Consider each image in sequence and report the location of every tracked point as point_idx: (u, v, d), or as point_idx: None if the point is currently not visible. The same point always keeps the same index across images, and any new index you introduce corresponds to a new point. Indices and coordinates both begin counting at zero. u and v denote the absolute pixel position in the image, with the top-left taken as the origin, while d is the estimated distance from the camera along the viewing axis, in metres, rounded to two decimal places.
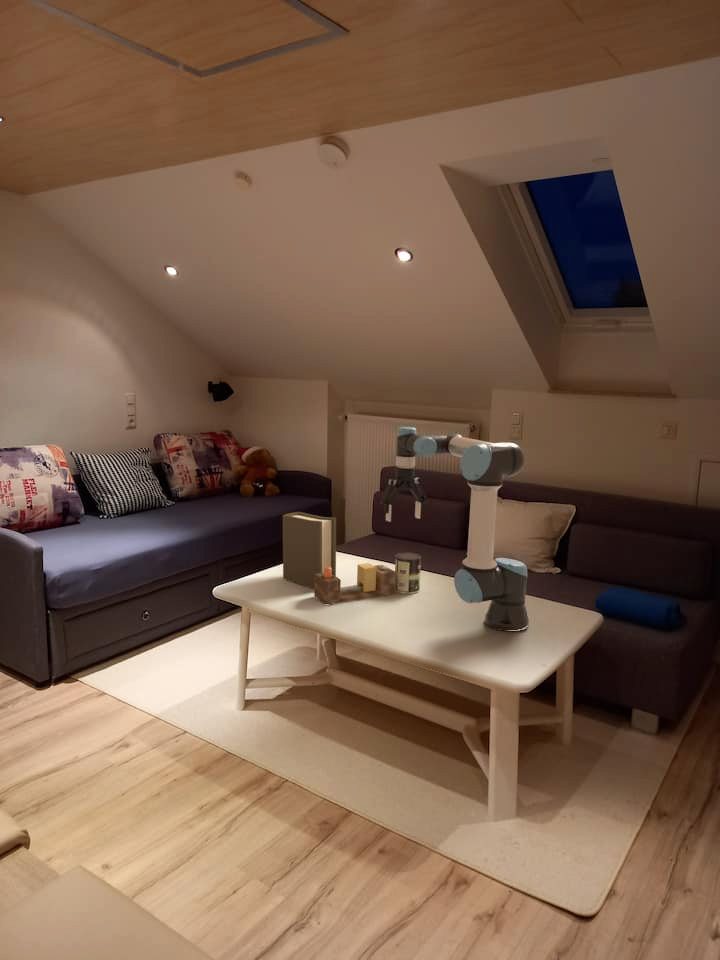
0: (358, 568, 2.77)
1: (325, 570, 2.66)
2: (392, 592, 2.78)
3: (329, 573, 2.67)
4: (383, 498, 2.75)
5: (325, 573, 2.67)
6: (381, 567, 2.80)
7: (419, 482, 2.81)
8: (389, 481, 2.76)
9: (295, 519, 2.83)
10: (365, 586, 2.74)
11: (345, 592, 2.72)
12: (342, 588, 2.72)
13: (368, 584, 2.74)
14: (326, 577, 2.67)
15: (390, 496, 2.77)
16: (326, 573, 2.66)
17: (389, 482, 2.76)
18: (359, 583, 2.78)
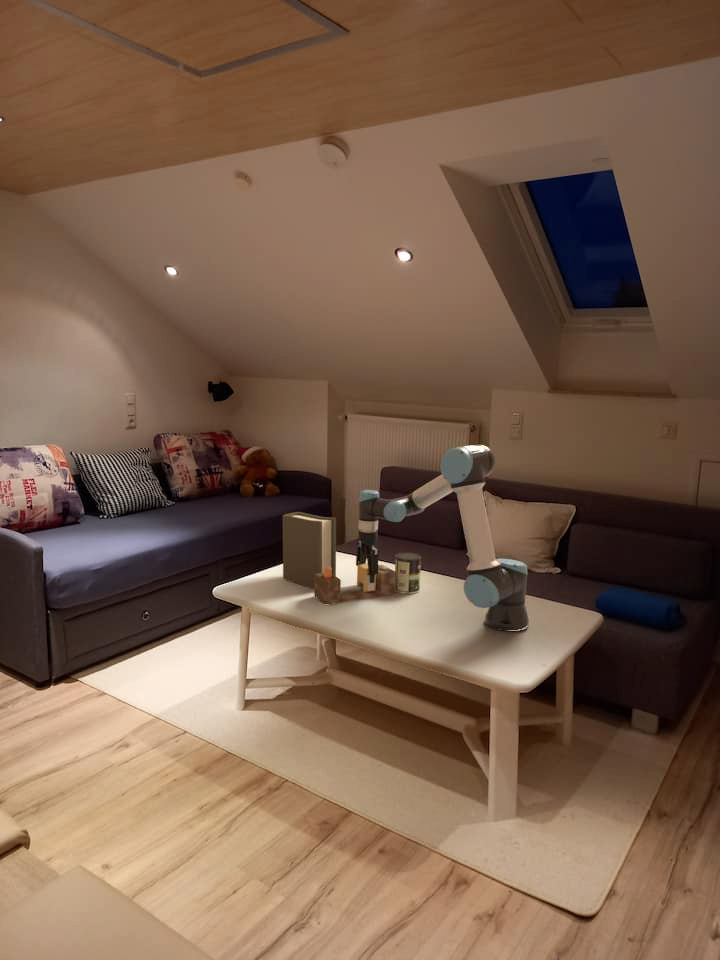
0: (358, 568, 2.77)
1: (325, 570, 2.66)
2: (392, 592, 2.78)
3: (329, 573, 2.67)
4: None
5: (325, 573, 2.67)
6: (381, 567, 2.80)
7: (372, 553, 2.69)
8: None
9: (295, 519, 2.83)
10: (365, 586, 2.74)
11: (345, 592, 2.72)
12: (342, 588, 2.72)
13: None
14: (326, 577, 2.67)
15: None
16: (326, 573, 2.66)
17: None
18: (359, 583, 2.78)
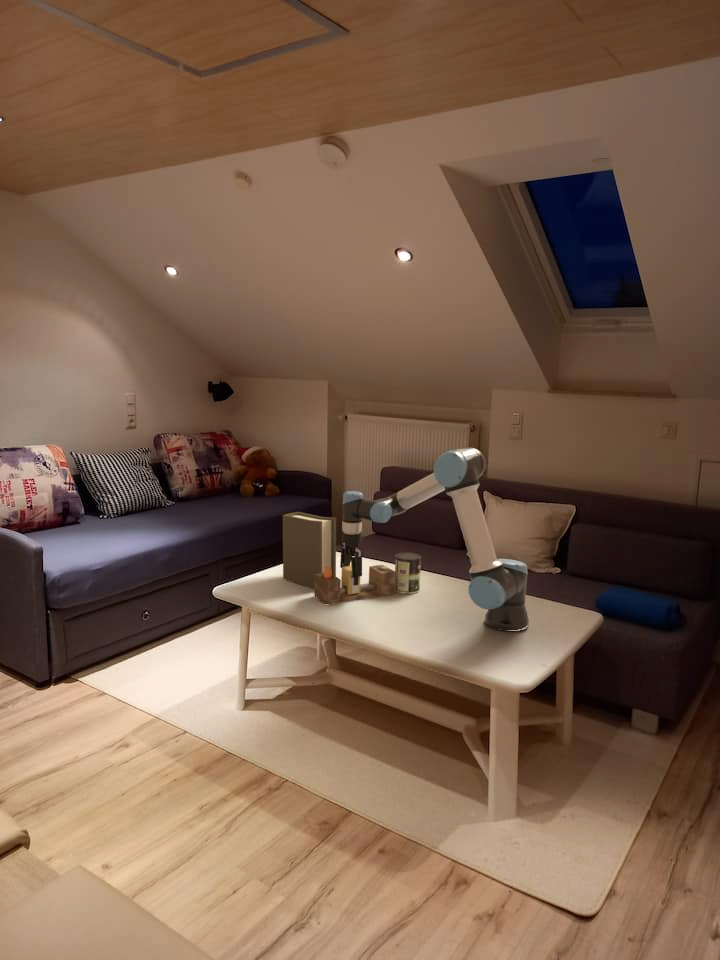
0: (342, 570, 2.73)
1: (325, 570, 2.66)
2: (392, 592, 2.78)
3: (329, 573, 2.67)
4: None
5: (325, 573, 2.67)
6: (381, 567, 2.80)
7: (355, 555, 2.66)
8: None
9: (295, 519, 2.83)
10: (349, 588, 2.70)
11: (345, 592, 2.72)
12: (342, 588, 2.72)
13: None
14: (326, 577, 2.67)
15: None
16: (326, 573, 2.66)
17: None
18: (343, 585, 2.74)
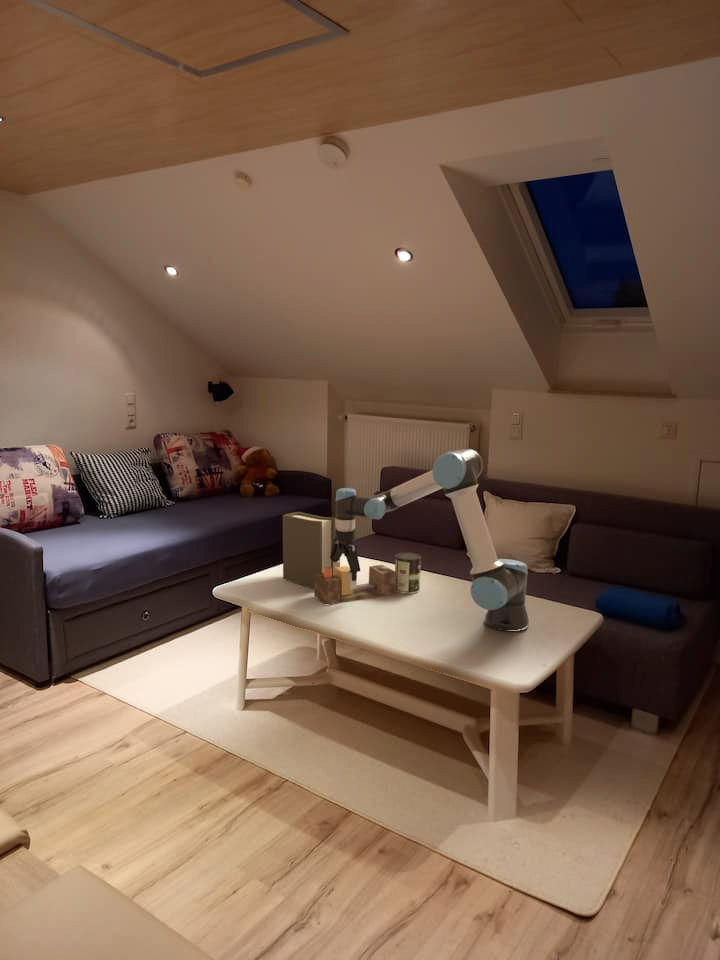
0: (335, 571, 2.72)
1: (325, 570, 2.66)
2: (392, 592, 2.78)
3: (329, 573, 2.67)
4: None
5: (325, 573, 2.67)
6: (381, 567, 2.80)
7: (349, 550, 2.63)
8: None
9: (295, 519, 2.83)
10: (342, 590, 2.69)
11: None
12: None
13: (345, 587, 2.69)
14: (326, 577, 2.67)
15: None
16: (326, 573, 2.66)
17: None
18: None
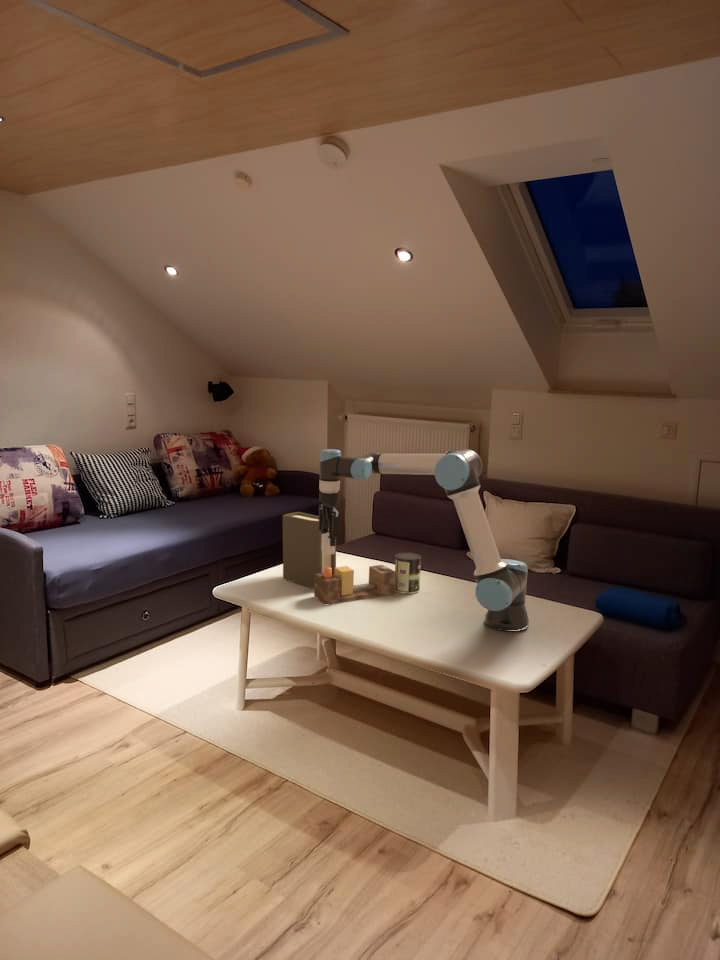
0: (335, 571, 2.72)
1: (325, 570, 2.66)
2: (392, 592, 2.78)
3: (329, 573, 2.67)
4: None
5: (325, 573, 2.67)
6: (381, 567, 2.80)
7: (332, 515, 2.58)
8: None
9: (295, 519, 2.83)
10: (342, 590, 2.69)
11: None
12: None
13: (345, 587, 2.69)
14: (326, 577, 2.67)
15: None
16: (326, 573, 2.66)
17: None
18: None
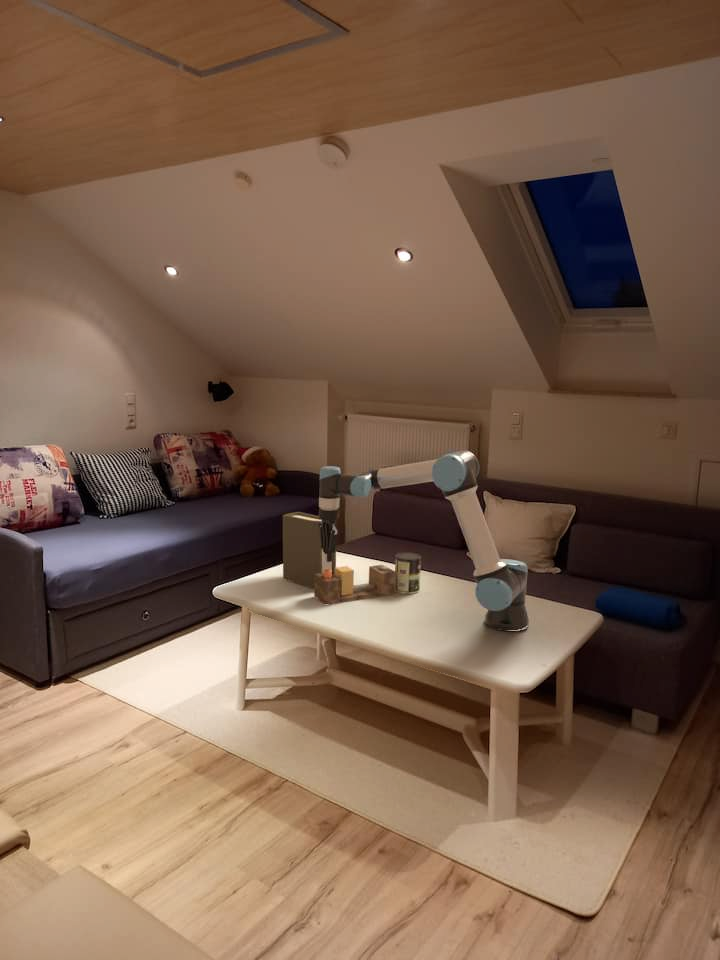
0: (335, 571, 2.72)
1: (325, 572, 2.67)
2: (392, 592, 2.78)
3: (329, 575, 2.67)
4: None
5: (325, 575, 2.67)
6: (381, 567, 2.80)
7: (331, 533, 2.60)
8: None
9: (295, 519, 2.83)
10: (342, 590, 2.69)
11: None
12: None
13: (345, 587, 2.69)
14: None
15: None
16: (326, 575, 2.66)
17: None
18: None
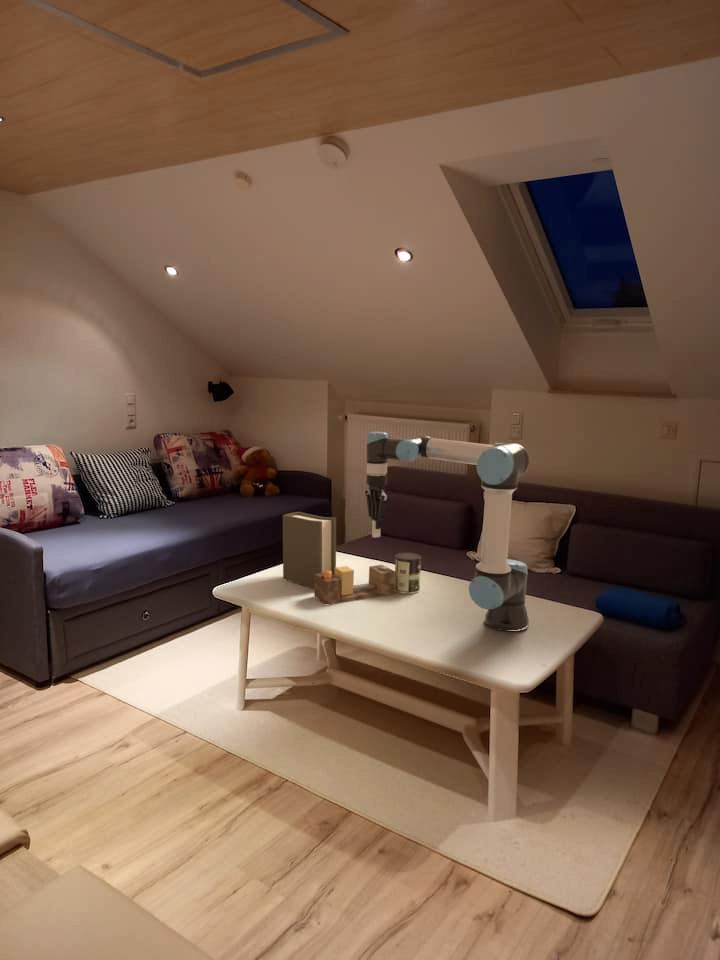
0: (335, 571, 2.72)
1: (325, 574, 2.67)
2: (392, 592, 2.78)
3: (329, 577, 2.67)
4: None
5: (325, 577, 2.67)
6: (381, 567, 2.80)
7: (381, 499, 2.56)
8: None
9: (295, 519, 2.83)
10: (342, 590, 2.69)
11: None
12: None
13: (345, 587, 2.69)
14: None
15: None
16: (326, 577, 2.67)
17: None
18: None
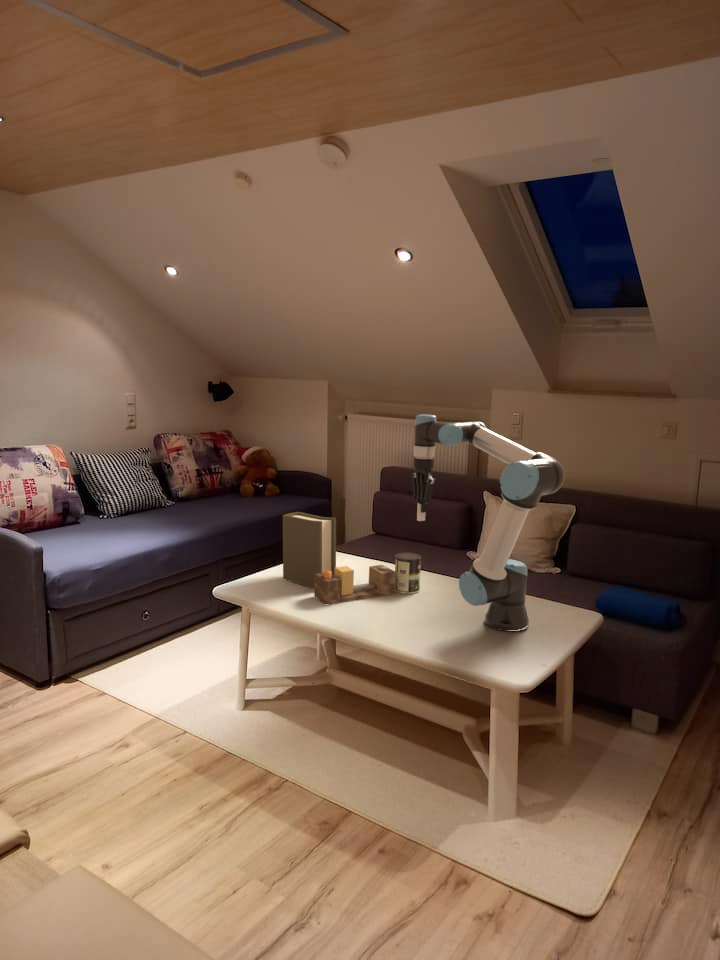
0: (335, 571, 2.72)
1: (325, 574, 2.67)
2: (392, 592, 2.78)
3: (329, 577, 2.67)
4: None
5: (325, 577, 2.67)
6: (381, 567, 2.80)
7: (427, 482, 2.55)
8: None
9: (295, 519, 2.83)
10: (342, 590, 2.69)
11: None
12: None
13: (345, 587, 2.69)
14: None
15: None
16: (326, 577, 2.67)
17: None
18: None
